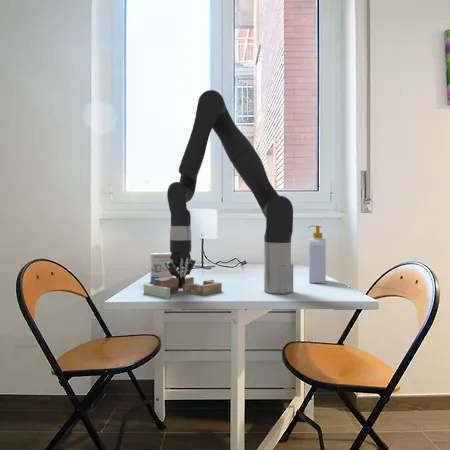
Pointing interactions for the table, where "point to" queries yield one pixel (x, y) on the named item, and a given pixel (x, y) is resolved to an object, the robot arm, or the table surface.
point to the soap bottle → (317, 258)
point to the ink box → (159, 265)
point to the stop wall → (157, 290)
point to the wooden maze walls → (201, 287)
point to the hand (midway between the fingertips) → (180, 287)
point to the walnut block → (168, 283)
